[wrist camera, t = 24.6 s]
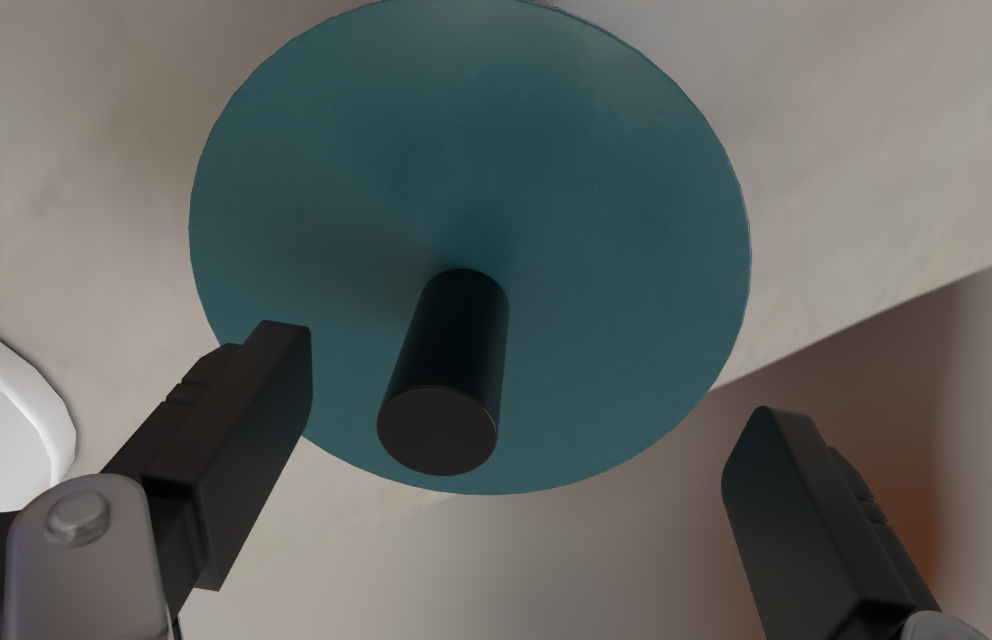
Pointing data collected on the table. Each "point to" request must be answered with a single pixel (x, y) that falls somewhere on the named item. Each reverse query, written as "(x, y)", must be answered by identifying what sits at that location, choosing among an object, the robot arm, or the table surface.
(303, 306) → the lid
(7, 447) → the bottle
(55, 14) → the table surface
